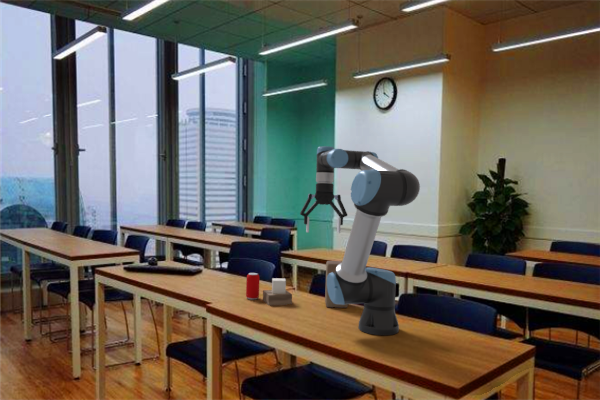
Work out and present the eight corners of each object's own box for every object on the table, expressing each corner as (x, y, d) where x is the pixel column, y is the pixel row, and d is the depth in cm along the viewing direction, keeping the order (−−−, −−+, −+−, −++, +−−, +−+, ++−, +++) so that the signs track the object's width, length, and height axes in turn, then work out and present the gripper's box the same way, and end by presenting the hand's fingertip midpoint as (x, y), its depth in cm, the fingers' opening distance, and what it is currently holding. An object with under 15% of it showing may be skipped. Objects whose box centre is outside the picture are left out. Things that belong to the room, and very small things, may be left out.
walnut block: (291, 305, 210) (292, 294, 210) (268, 306, 207) (268, 295, 207) (284, 299, 221) (285, 289, 221) (262, 300, 217) (263, 290, 217)
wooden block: (347, 308, 206) (349, 264, 206) (325, 307, 206) (327, 263, 206) (346, 303, 216) (347, 261, 216) (324, 302, 216) (326, 260, 216)
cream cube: (285, 293, 211) (285, 280, 211) (272, 293, 211) (272, 280, 210) (284, 291, 217) (284, 278, 217) (271, 290, 217) (272, 278, 216)
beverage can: (254, 300, 215) (255, 275, 215) (243, 298, 218) (244, 273, 218) (261, 298, 221) (262, 273, 221) (250, 296, 224) (251, 272, 224)
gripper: (350, 184, 201) (349, 232, 201) (294, 182, 197) (293, 231, 197) (355, 183, 193) (353, 233, 194) (297, 181, 190) (295, 232, 190)
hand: (323, 232), depth 195 cm, fingers open, 13 cm apart
